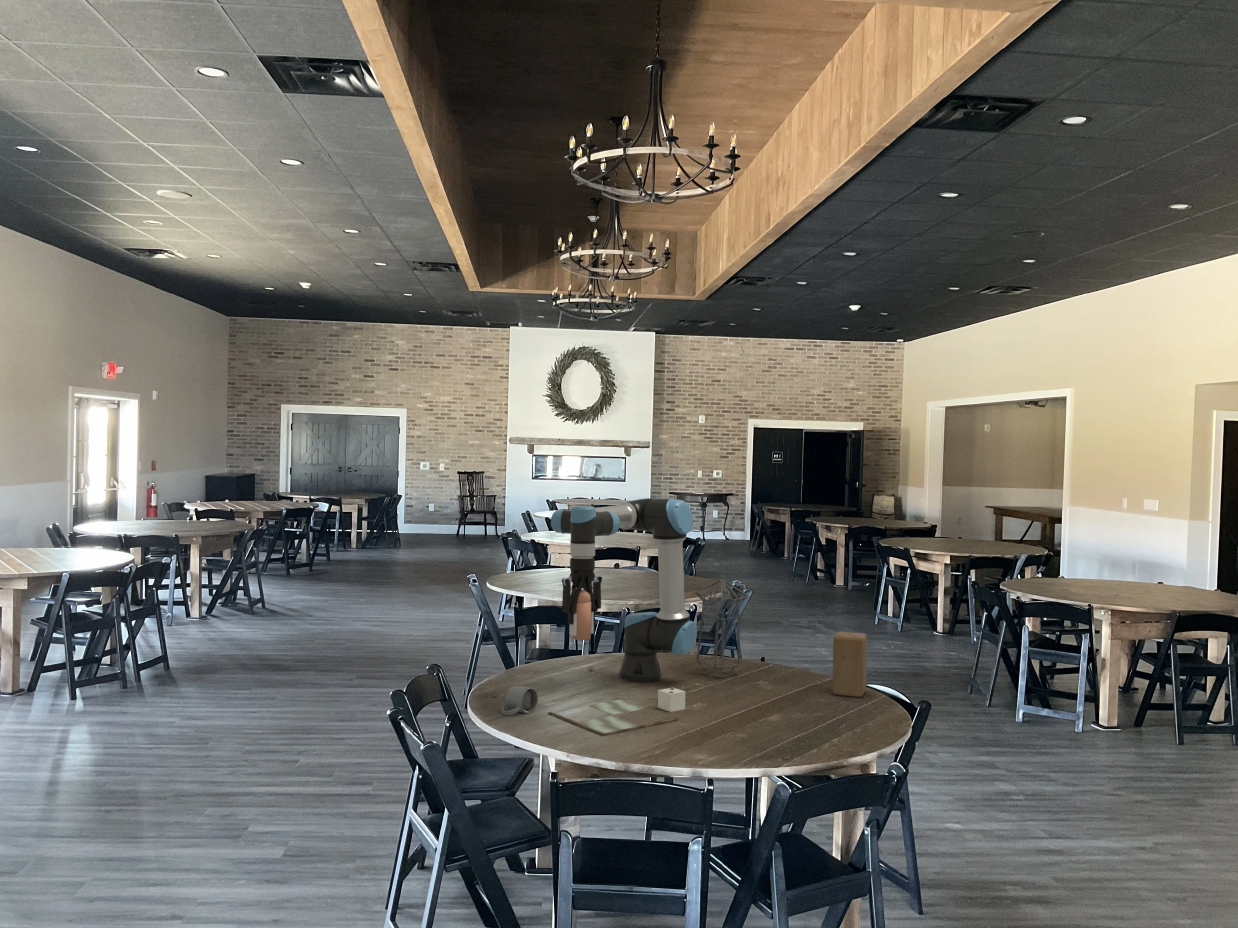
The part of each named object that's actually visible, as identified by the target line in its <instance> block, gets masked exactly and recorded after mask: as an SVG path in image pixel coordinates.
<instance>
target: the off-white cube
mask: <svg viewBox="0 0 1238 928" xmlns="http://www.w3.org/2000/svg"><path fill="white" fill-rule="evenodd" d="M657 708H658V709H661V710H663V711H667V712H670V713H672V712H676V711H677V712H678V711H681V710H686V691H685V690H683V689H682V690H681V689H678V688H675V687H670V688H662V689H658V690H657Z"/></svg>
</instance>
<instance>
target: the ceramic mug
mask: <svg viewBox="0 0 1238 928" xmlns="http://www.w3.org/2000/svg"><path fill="white" fill-rule="evenodd" d="M538 702H539V695H538V692H537V690H536V689H535V688H534V687H532V686H531V687H528V686H517V685H516V686H511V687H509V688H508V689H507V690H506V692H505V695H504V704H503V705H502V706H501V712H502V714H503V715H504V714H506V715H505V716H512V715H515V714H517V713H518V712H519V713H524V714H531V713H533V712H534V711H535V709H536V708H537V706H538V704H539V703H538ZM507 708H508V709H510V710H507ZM524 710H526V711H528V712H525V711H524ZM532 711H533V712H532ZM530 712H531V713H530Z"/></svg>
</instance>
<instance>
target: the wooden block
mask: <svg viewBox="0 0 1238 928" xmlns="http://www.w3.org/2000/svg"><path fill="white" fill-rule="evenodd" d="M867 640H868V636H867V634H866V633H864V632H853V631H841V630H840V631H838V632H836V633H835V634H834V636H833V637H832V645H833V646H832V694H833V695H836V696H845V697H852V698H853V697H855V698H862V697H863V696H864V694H865V693H866V690H867V659H868V658H867V653H868V652H867V651H868V650H867V648H868V641H867Z"/></svg>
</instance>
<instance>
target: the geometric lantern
mask: <svg viewBox="0 0 1238 928" xmlns="http://www.w3.org/2000/svg"><path fill="white" fill-rule="evenodd" d="M719 585H720V589H718V588H719ZM708 588H709V589H708ZM705 589H708V590H707V591H706V592H702V591H704V590H705ZM735 590H736V591H738V592H740V593H741V594H737V593H736V591H735ZM718 592H720V597H718V596H717V594H718ZM727 594H728V595H727ZM693 595H696V596H697V597H698V598H699V599H700V600H701V602H702V603H703V606H702V609H701V614H700V626H699V637H698V645H697V652H696V662H697V664H699V666H700V667H701V668H702V675H705V676H709V677H714V678H717V679H718V678H726V677H729V676H732V675H733V670H734V669H736V668H738V667H739V666H741V640H740V639H741V616H740V611H739V605H740V604H741V603H743V602H744V601H745V600H747V599H748V598H749V594H747V593H745V592H744V591H742V590H741V589H739V588H738V587H736V586H734V584H732V583H731V582H728V581H727V580H725V579H720V578H719V579H718V580H716V581H715V582H714V581H713V583H711V584H708V585H706V586H704V587H702V588H700V589H699V590H696V591H694V592H693ZM708 595H709V596H708ZM723 595H724V598H723ZM716 596H717V597H716ZM733 597H734V598H733ZM706 598H707V599H706ZM713 600H715V601H713ZM721 600H726V601H727V604H726V605H725V607H724V609H723V610H722V611H720V610H719V609H718V607H717V605H716V603H717V602H720V601H721ZM707 602H708V603H707ZM733 603H734V605H733ZM707 606H710V607H711V609H712V612H705V610H706V607H707ZM713 606H714V607H715V608H716V610H717V611H715V609H714V607H713ZM728 606H729V609H728V610H727V611H726V609H727V608H728ZM735 607H736V614H732V613H728V612H729V611H730V609H731V608H735ZM725 611H726V612H725ZM711 614H714V615H715V617H714V616H710V615H711ZM720 614H721V617H719V615H720ZM727 615H728V616H732V617H727V618H726V616H727ZM733 616H734V617H733ZM704 617H707V618H709V619H714V620H716V625H715V632H714V633H715V634H714V645H713V654H712V656H709V657H702V658H700V653H701V652H700V649H701V641H702V639H701V638H702V633H703V632H702V630H703V626H704V625H703V624H704ZM731 619H737V634H738V635H737V636H738V638H737V639H738V640H737V644H738V645H737V647H738V648H737V660H735V659H730V658H725V620H731ZM720 621H721V627H720ZM719 628H721V630H720V629H719ZM719 630H720V653H719V654H720V656H718V644H719ZM709 659H712V661H713V664H710V663H706V662H704V661H703V660H709ZM725 660H726V661H730V662H734V663H735V664H728V665H727V664H726V665H725ZM720 661H721V663H722V665H719V662H720ZM702 664H703V665H706V666H705V667H704V666H703V665H702ZM711 667H713V669H710V668H711ZM718 668H719V669H720V668H721V669H720V670H718ZM715 669H716V670H715ZM723 669H727V670H723ZM705 670H707V671H705ZM712 672H714V673H717V676H716V675H711V674H708V673H712ZM722 673H723V674H726V675H722ZM719 675H720V676H719Z"/></svg>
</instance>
